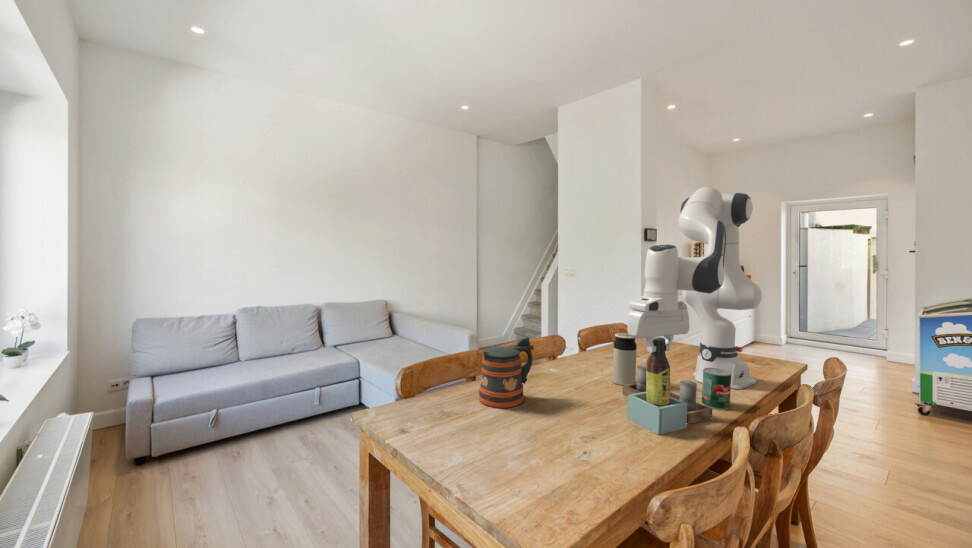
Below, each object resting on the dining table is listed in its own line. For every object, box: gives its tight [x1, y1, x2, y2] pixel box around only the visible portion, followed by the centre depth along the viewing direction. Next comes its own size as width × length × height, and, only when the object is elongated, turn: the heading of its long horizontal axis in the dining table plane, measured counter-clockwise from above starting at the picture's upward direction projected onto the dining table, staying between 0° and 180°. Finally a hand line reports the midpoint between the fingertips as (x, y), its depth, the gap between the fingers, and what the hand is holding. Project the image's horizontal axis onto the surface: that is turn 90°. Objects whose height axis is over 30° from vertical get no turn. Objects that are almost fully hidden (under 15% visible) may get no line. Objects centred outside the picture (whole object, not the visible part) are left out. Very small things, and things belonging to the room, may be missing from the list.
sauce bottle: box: [646, 336, 671, 407], centre depth 113 cm, size 7×6×20 cm
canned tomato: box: [701, 368, 732, 411], centre depth 128 cm, size 8×8×11 cm
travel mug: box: [612, 332, 638, 387], centre depth 149 cm, size 8×8×18 cm
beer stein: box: [478, 336, 534, 409], centre depth 131 cm, size 19×15×20 cm
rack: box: [622, 364, 713, 425], centre depth 127 cm, size 10×26×10 cm, turn 24°
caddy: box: [626, 392, 687, 436], centre depth 114 cm, size 10×12×7 cm
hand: (658, 351), depth 113 cm, fingers closed on sauce bottle, 4 cm apart
